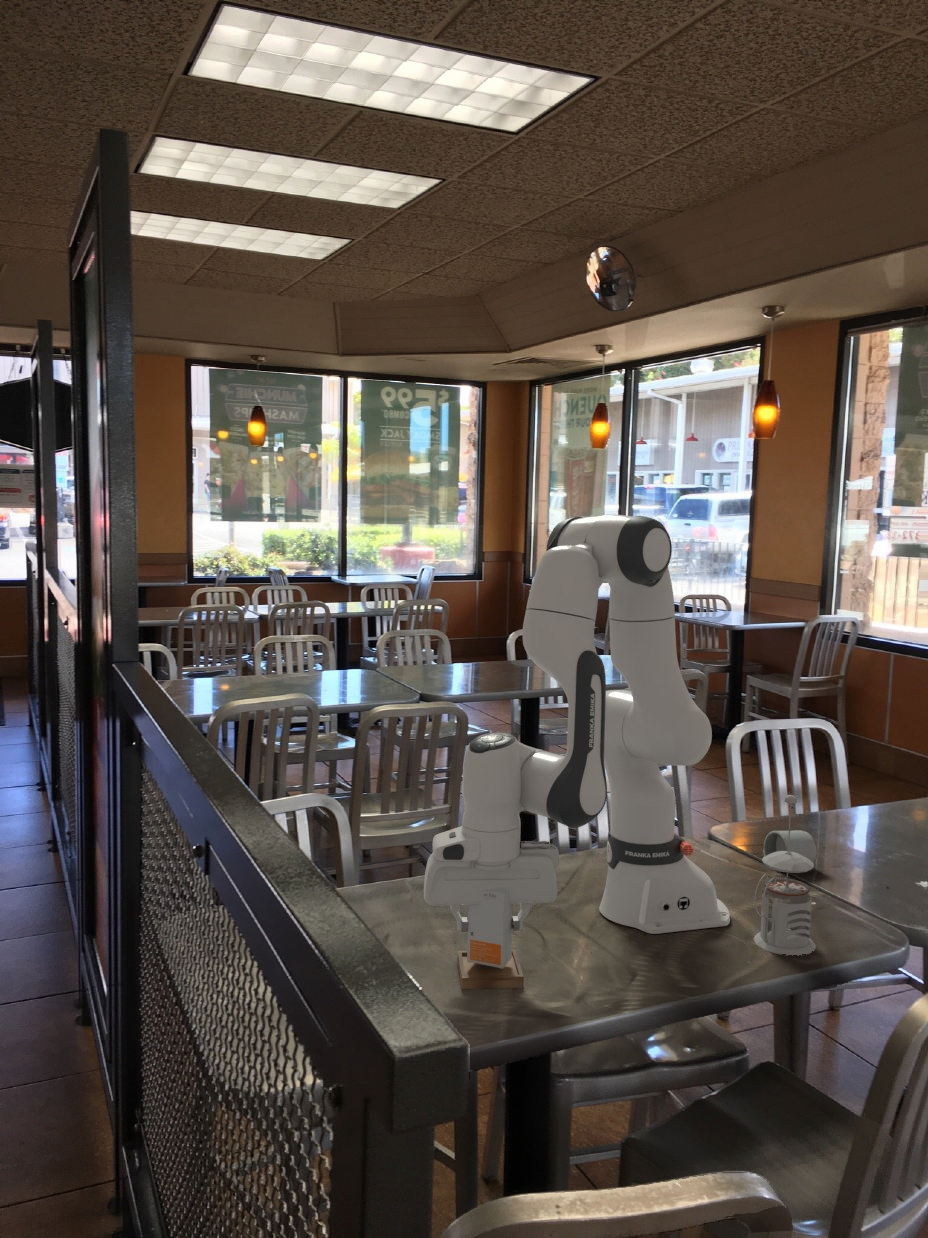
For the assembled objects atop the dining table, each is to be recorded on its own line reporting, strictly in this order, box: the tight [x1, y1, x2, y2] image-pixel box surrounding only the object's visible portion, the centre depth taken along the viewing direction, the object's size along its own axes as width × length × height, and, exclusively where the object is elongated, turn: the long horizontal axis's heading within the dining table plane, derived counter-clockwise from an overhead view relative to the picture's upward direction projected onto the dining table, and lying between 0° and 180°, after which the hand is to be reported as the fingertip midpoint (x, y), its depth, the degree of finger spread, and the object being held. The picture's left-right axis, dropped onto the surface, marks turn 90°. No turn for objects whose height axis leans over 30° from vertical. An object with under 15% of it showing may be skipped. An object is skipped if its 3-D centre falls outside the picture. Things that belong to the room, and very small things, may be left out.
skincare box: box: [466, 889, 514, 969], centre depth 151 cm, size 6×4×12 cm
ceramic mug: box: [762, 829, 819, 864], centre depth 201 cm, size 11×8×8 cm
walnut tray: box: [457, 949, 525, 990], centre depth 152 cm, size 9×9×2 cm
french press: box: [753, 794, 816, 957], centre depth 163 cm, size 10×12×25 cm
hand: (489, 930), depth 152 cm, fingers closed on skincare box, 7 cm apart
